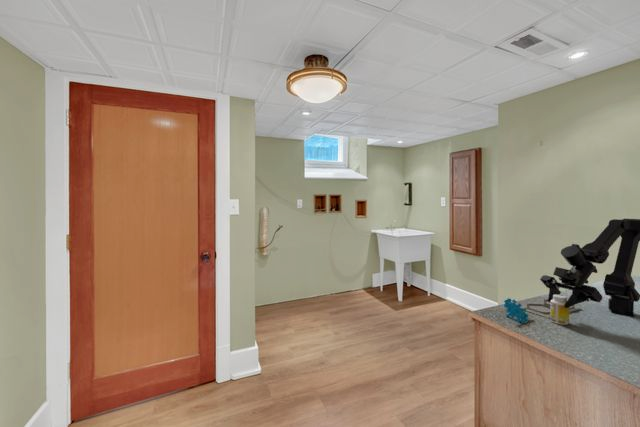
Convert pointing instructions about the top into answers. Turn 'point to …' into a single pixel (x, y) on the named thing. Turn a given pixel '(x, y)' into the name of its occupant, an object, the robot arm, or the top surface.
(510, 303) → the gear
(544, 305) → the flange plate
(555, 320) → the supplement bottle
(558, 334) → the top surface
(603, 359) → the top surface
